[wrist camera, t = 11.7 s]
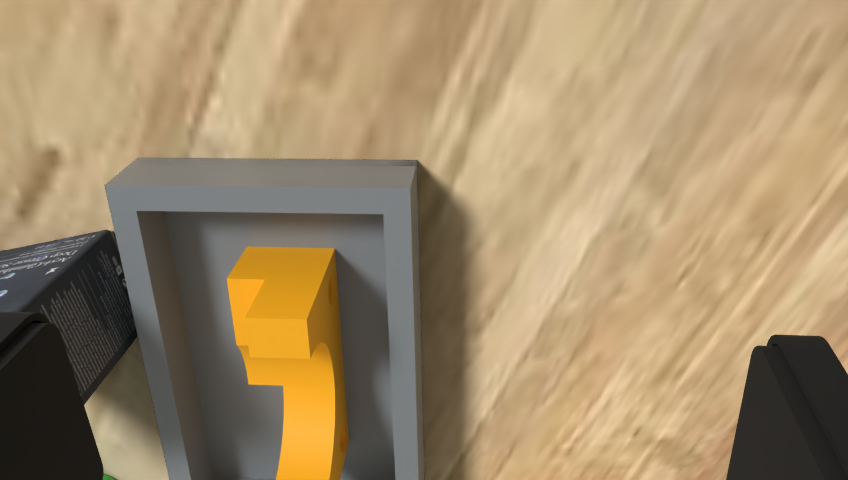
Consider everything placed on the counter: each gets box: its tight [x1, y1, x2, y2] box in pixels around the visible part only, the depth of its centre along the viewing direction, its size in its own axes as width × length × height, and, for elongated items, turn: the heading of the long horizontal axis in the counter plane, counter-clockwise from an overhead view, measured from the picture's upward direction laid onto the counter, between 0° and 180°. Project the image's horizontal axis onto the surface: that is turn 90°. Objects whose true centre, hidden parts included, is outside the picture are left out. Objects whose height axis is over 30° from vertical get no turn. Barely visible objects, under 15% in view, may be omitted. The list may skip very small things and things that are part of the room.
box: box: [0, 230, 138, 404], centre depth 35 cm, size 8×6×11 cm
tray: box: [105, 158, 425, 480], centre depth 38 cm, size 13×20×4 cm, turn 1°
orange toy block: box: [227, 247, 349, 480], centre depth 36 cm, size 12×4×6 cm, turn 1°
